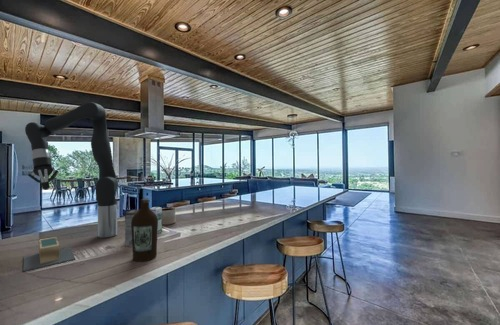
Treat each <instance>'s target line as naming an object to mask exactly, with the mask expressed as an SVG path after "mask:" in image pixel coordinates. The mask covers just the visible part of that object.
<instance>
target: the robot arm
mask: <svg viewBox="0 0 500 325" xmlns="http://www.w3.org/2000/svg"><path fill="white" fill-rule="evenodd" d="M86 119H90V120H91V123H92V129H93V130H92V131H93V132H92V136H91V140H90V146H91V147H90V148H91V152H92V156H93V159H94V161H95V162H96V164H97V166H98V169H99V173H100V178H99V179H98V180H97V181H96V183H95V197H96V198H95V199H96V202H97V238H101V239H103V238H111V237H114V236H117V234H118V213H117V212H118V211H117V208H118V207H117V205H118V203H117V202H118V201H117V199H116V195H115V194H116V192H115V191H116V190H117V189H118V185H119V180H118V177H117V174H116V172H115V168H114V160H113V155H112V154H113V153H112V149H111V148H112V147H111V143H110V139H109V132H108V128H107V113H106V109H105V108H104V107H103V106H102V105H101V104H99V103H96V102H93V101H87V102H84V103H83V104H81V105H79V106H77V107H75V108H73V109H71V110H69V111H67V112H66V113H62V114H59V115H57V116H54V117H51V118H49V119H46V120H45V121H44V125H43V124H40V123H38V122H34V121H33V122H28V123H27V124H26V125H25V127H24V128H25V129H24V131H25V134H26V138H27V140H29V143H30V146H31V147H30V148H31V157H32V166H33V169H32V172H31V173H28V175H27V176H28V177H29V178H31V179H32V180H34V181H35V182H37V183H39V184H41V188H42V189H43V190H44V191H47V190H49V189H50V188H51V186H50V182H53V181H54V180H55V178H56V177H57V176H58V175H59V173H60V171H59V170H56V169H55V168H54V167H53V163H52V156H51V152H50V147H49V143H48V141H47V140H46V139H44V138H48V137H49V136H51V135H52V134H54V133H56V132H58V131H61V130H64V129H66V128H68V127H70V126H71V125H73V124H74V123H76V122H78V121H81V120H86ZM51 174H52V175H51ZM36 175H37V177H39V178H37V177H36Z"/></svg>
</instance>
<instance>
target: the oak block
mask: <svg viewBox="0 0 500 325" xmlns="http://www.w3.org/2000/svg"><path fill="white" fill-rule="evenodd" d="M38 244H39V245H38V246H39V248H38V251H39V253H38V254H39V255H40V264H41V263H46V262H51V261H55V260H59V249H60V243H59V240H58V237H57V236H52V237H47V238H41V239H39V240H38Z"/></svg>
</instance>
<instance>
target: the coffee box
mask: <svg viewBox="0 0 500 325" xmlns="http://www.w3.org/2000/svg"><path fill="white" fill-rule="evenodd" d="M139 210H140V209H131V210H129V211H128V212H125V213H124V246H127V247H128V246H131V247H132V230H131V221H132V218H133V216H134V215H135V214H136V213H137V212H138V211H139Z"/></svg>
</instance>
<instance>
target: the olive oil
mask: <svg viewBox="0 0 500 325" xmlns="http://www.w3.org/2000/svg"><path fill="white" fill-rule="evenodd" d="M139 204H140V209H138V210H139V211H138V212H137V213H136V214H135V215H134V216H133V218H132V221H131V230H132V246H131V247H132V260H133V261H135V262H146V261H151V260H153V259H155V258H156V257H157V254H158V233H157V230H158V218H157V216H156V214H155V213H154V212H153V211H152V210H151V209H150V208H151V207H150V202H149V198H142V199H140V203H139Z"/></svg>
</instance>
